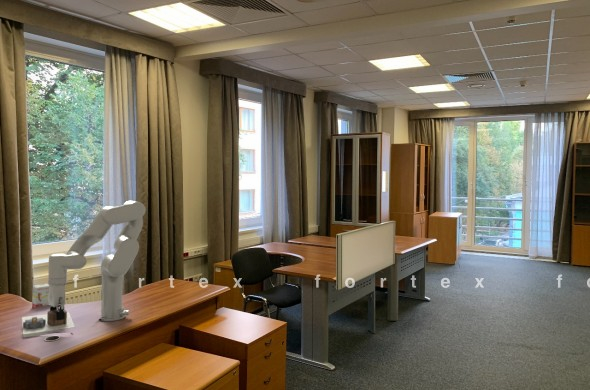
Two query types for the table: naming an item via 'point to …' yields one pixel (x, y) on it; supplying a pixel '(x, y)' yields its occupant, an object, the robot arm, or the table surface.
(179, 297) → the table surface
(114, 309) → the robot arm
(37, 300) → the ink box
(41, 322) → the gear board
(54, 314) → the walnut gear
